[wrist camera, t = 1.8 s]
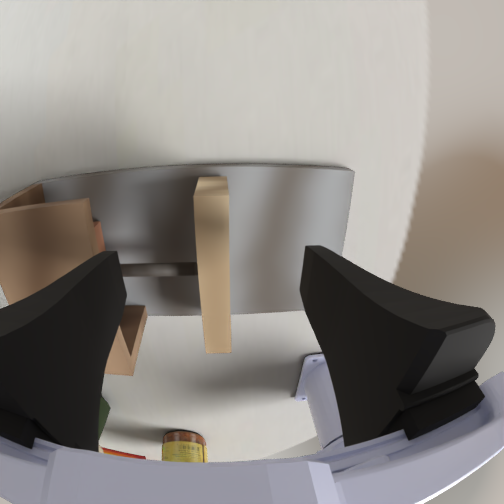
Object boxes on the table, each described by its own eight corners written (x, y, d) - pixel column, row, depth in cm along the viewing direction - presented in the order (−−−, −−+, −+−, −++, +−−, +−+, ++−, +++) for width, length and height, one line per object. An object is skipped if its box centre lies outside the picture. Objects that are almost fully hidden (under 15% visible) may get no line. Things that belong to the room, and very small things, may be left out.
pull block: (226, 175, 16) (229, 195, 13) (228, 312, 21) (231, 352, 17) (46, 190, 15) (12, 212, 11) (78, 311, 19) (61, 346, 16)
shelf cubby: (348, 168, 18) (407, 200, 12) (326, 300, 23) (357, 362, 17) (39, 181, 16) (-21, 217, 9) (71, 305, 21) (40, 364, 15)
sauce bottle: (154, 432, 32) (149, 558, 14) (190, 425, 31) (195, 564, 13) (181, 448, 35) (184, 561, 17) (216, 442, 34) (226, 563, 17)
